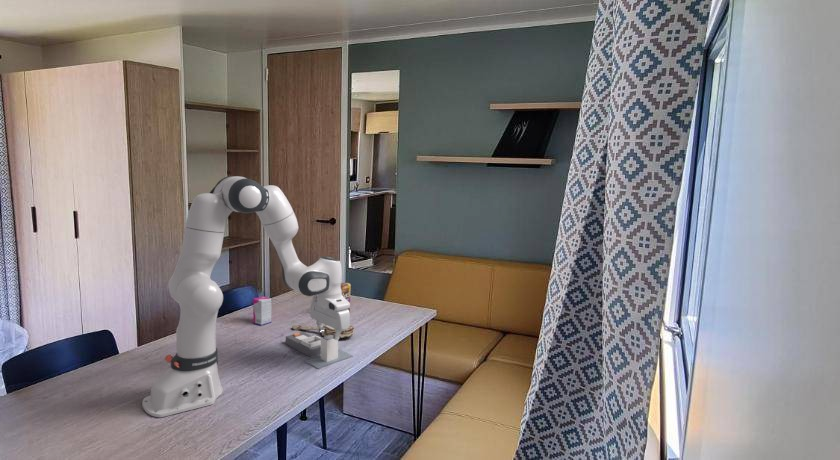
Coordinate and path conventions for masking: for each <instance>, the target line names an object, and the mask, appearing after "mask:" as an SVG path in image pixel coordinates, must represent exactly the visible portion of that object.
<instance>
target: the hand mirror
mask: <svg viewBox="0 0 840 460" xmlns="http://www.w3.org/2000/svg"><path fill="white" fill-rule="evenodd" d="M323 327H324V332H323V333H321V335H322V336H323V337H326V336H329V335H334V334H335V333H336V331H335V329H334V328H332V327H330V326H328V325H325V324H323ZM291 329H292V330H295V331H299V330H303V331H304V330H305V331H310V330H311V331H317V332H318V326H310V325H309V326H307V325H299V324H294V325H291ZM354 334H355V327H354V326H353V325H352V324H350V325H349V328H348V329H347V330H345V331H342V332H341V333H340V336H339V339H343V338H349V337H350V336H351V337H352V336H353V335H354Z"/></svg>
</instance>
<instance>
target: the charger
mask: <svg viewBox="0 0 840 460" xmlns="http://www.w3.org/2000/svg"><path fill="white" fill-rule="evenodd" d="M338 350H339V340H335V339H333V335H329V336H326V337H325V336H323V337H321V354H320V356H321V359H323V360H325V361H326V362H328V361H331V360H334V359H337V358H338Z"/></svg>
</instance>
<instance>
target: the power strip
mask: <svg viewBox="0 0 840 460" xmlns="http://www.w3.org/2000/svg"><path fill="white" fill-rule="evenodd" d="M321 338H322V337H320V336H318V335H316V334H315V335H313V336H312V335H311V334H308V333H306V332H304V331H300V332H296V333H293V334H290V335H287V336H285V344H286V345H287V346H289V347H291V348H294V349H295V350H297V351H299V352H301V353H302V354H304V355H306V356H308V357H309V358H315V357H318V356H321Z"/></svg>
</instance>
